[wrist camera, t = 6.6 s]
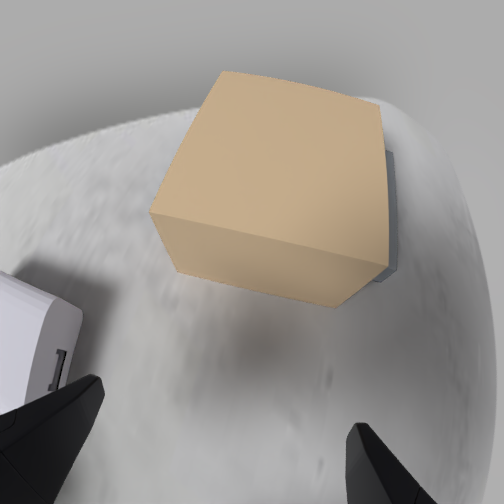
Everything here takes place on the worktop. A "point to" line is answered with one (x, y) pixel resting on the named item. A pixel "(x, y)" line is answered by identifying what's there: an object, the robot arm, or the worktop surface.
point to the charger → (33, 341)
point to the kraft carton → (278, 191)
